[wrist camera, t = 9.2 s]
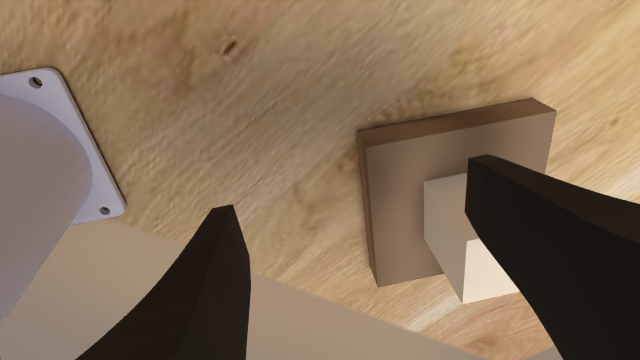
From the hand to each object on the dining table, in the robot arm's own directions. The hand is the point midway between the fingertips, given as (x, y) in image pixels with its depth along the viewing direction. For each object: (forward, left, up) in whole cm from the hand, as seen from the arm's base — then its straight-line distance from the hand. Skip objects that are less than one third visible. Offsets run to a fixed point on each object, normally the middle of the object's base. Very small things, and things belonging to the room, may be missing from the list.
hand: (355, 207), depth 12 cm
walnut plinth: (+7, -7, -9) cm, 14 cm away
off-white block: (+7, -7, -7) cm, 12 cm away
